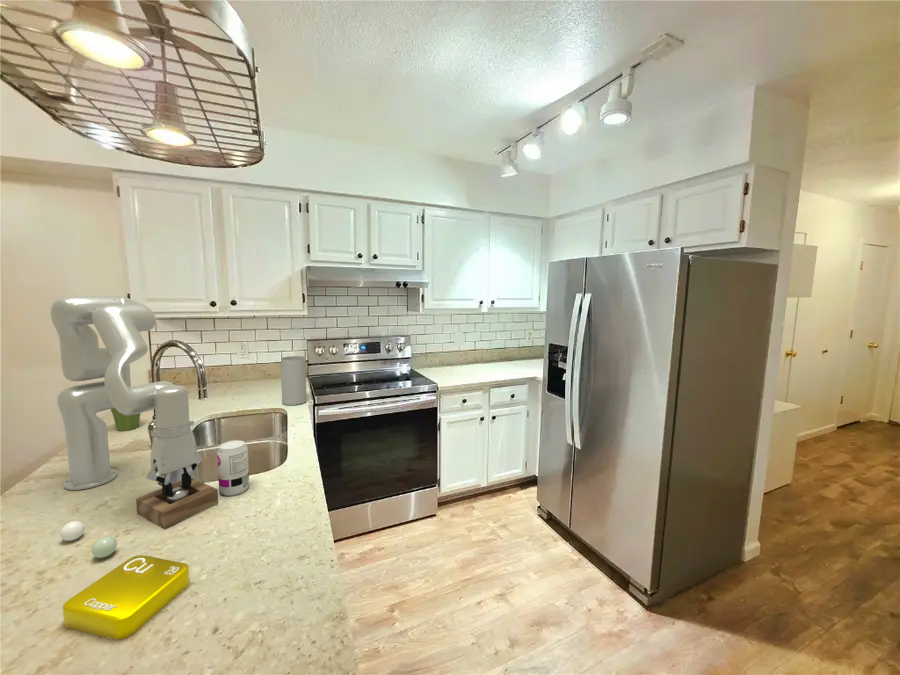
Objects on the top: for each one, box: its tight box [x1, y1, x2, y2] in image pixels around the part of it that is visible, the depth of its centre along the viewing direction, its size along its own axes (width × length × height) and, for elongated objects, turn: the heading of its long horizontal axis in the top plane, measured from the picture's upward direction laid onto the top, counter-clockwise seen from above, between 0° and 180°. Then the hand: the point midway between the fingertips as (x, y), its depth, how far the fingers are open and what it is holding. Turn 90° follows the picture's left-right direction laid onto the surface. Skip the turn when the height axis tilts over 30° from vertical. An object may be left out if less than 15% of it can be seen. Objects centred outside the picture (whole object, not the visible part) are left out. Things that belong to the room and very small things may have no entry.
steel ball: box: [166, 487, 189, 504], centre depth 108 cm, size 5×5×5 cm
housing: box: [135, 477, 219, 530], centre depth 108 cm, size 14×14×4 cm
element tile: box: [62, 554, 190, 640], centre depth 77 cm, size 15×15×5 cm
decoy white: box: [59, 520, 86, 542], centre depth 94 cm, size 4×4×4 cm
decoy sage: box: [91, 536, 118, 559], centre depth 89 cm, size 4×4×4 cm
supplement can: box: [216, 439, 250, 497], centre depth 118 cm, size 8×8×15 cm
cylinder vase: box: [280, 355, 307, 406], centre depth 208 cm, size 12×12×25 cm
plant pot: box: [110, 408, 141, 432], centre depth 166 cm, size 12×12×11 cm
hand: (177, 491), depth 108 cm, fingers closed on steel ball, 4 cm apart
